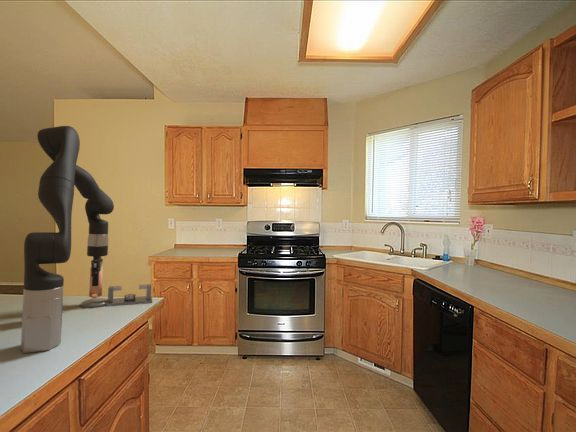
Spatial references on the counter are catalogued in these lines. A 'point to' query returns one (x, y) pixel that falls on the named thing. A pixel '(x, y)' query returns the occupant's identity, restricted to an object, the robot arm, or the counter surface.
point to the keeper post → (128, 296)
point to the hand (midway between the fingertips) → (96, 284)
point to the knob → (96, 290)
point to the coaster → (94, 303)
